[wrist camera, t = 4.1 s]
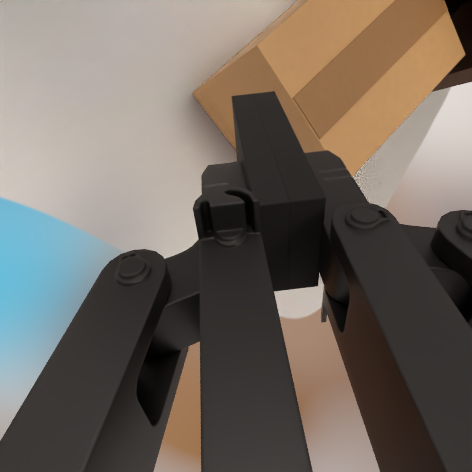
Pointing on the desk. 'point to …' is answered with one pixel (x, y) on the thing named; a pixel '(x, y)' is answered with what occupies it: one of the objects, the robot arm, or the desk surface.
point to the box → (341, 71)
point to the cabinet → (468, 30)
